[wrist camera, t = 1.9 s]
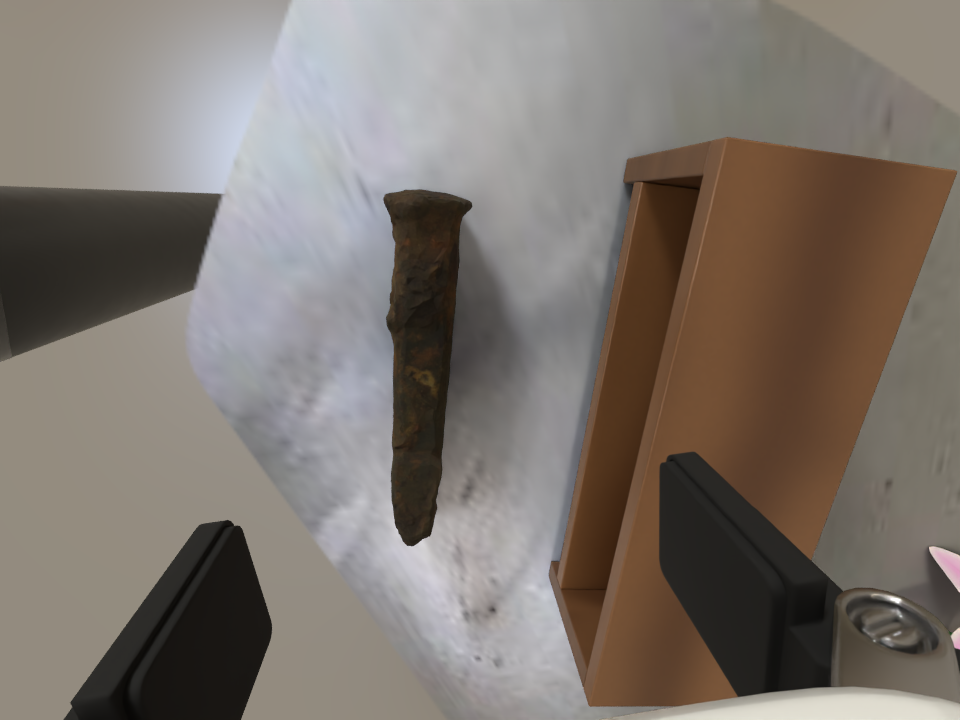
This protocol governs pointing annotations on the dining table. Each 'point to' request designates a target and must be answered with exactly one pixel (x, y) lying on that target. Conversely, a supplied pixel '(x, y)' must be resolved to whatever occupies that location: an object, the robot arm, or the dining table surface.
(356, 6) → the dining table surface
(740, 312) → the shelf stand
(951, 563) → the lily
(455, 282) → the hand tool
